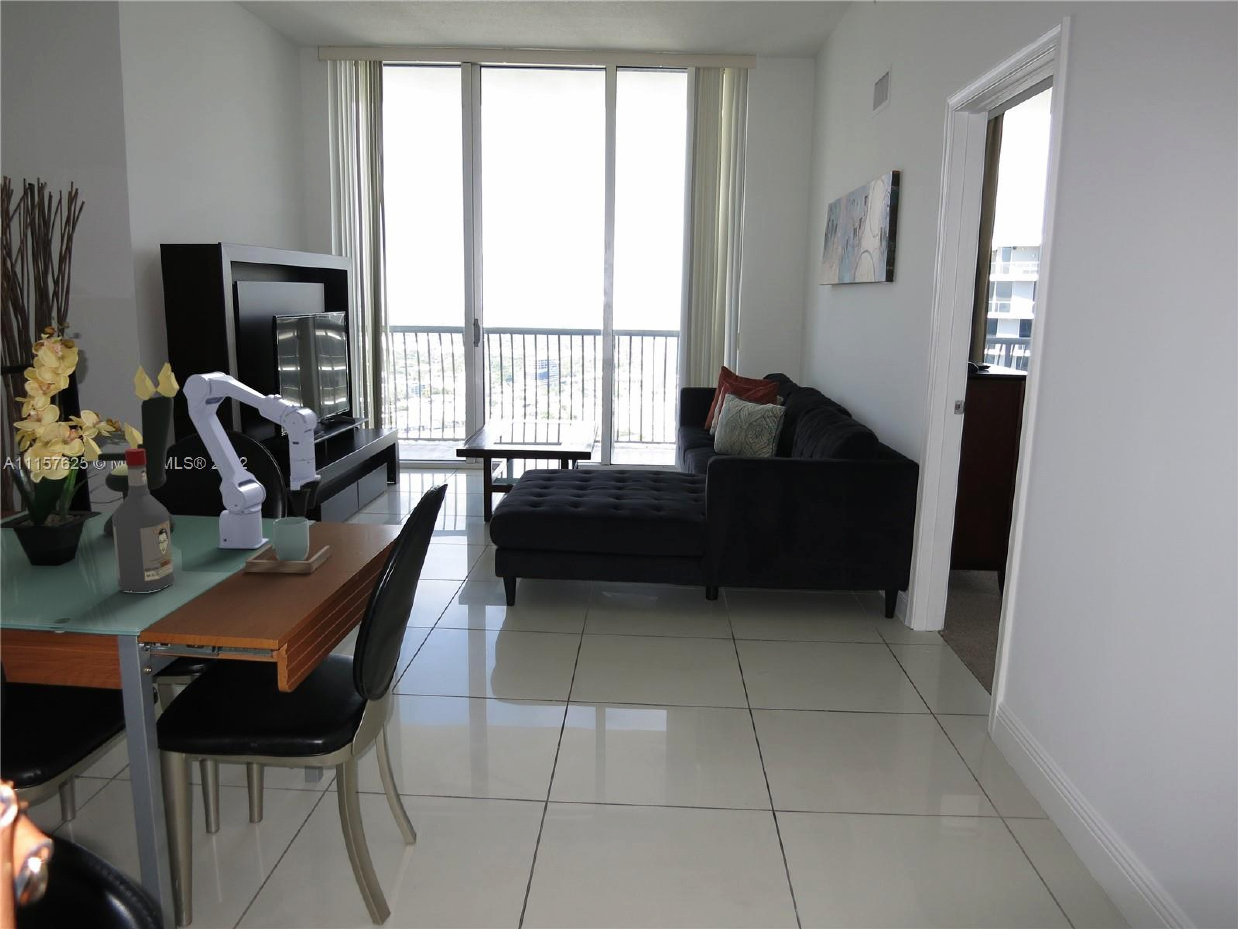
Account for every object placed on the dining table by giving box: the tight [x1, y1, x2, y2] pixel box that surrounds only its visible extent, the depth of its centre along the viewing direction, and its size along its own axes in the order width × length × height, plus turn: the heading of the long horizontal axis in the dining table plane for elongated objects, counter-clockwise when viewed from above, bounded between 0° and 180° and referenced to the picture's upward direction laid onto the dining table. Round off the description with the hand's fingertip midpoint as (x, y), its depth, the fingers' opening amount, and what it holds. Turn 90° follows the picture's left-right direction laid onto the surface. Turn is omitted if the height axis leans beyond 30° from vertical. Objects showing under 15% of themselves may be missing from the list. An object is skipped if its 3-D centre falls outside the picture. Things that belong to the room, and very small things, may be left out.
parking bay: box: [244, 544, 331, 574], centre depth 206 cm, size 15×14×2 cm
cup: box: [272, 516, 310, 561], centre depth 206 cm, size 8×8×10 cm
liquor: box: [112, 448, 175, 592], centre depth 185 cm, size 9×9×30 cm
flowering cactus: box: [83, 361, 180, 539], centre depth 225 cm, size 19×22×45 cm
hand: (305, 512), depth 216 cm, fingers open, 7 cm apart
